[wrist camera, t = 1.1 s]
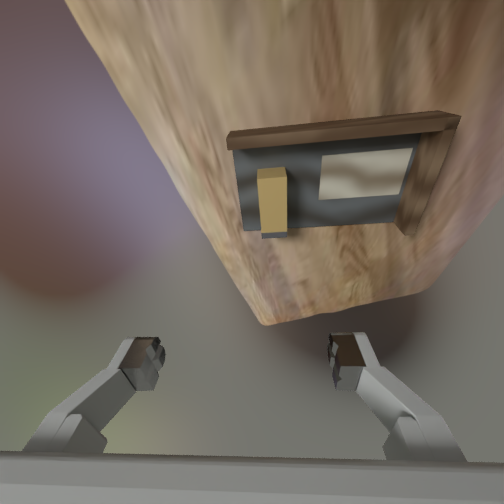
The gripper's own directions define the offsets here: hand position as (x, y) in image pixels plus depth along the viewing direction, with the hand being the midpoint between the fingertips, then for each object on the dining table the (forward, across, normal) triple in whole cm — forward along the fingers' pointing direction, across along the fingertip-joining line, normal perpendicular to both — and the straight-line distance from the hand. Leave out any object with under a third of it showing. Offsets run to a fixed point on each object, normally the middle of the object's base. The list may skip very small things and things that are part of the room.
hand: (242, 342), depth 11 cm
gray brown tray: (+34, -11, +3) cm, 36 cm away
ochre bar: (+34, -2, +5) cm, 34 cm away
